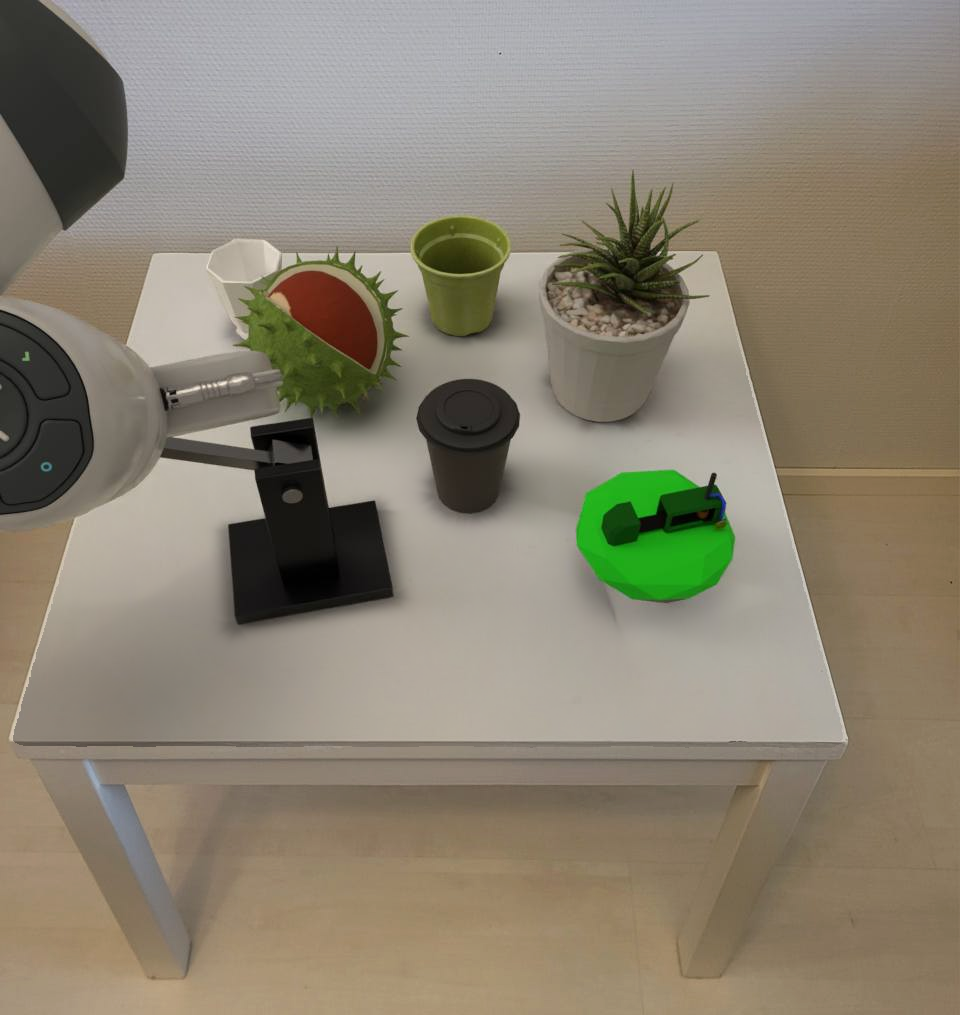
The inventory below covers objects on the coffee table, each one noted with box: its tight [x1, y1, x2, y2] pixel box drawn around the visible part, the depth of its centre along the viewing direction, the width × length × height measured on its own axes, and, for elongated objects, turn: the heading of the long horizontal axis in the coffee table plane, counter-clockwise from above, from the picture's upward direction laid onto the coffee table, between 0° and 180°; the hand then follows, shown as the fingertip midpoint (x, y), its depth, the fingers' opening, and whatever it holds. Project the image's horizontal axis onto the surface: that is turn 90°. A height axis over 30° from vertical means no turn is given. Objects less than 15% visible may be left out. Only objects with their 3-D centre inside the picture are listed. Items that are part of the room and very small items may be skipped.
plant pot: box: [409, 214, 512, 337], centre depth 92 cm, size 9×9×9 cm
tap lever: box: [159, 436, 313, 471], centre depth 65 cm, size 14×3×3 cm, turn 102°
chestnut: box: [232, 245, 410, 421], centre depth 84 cm, size 15×14×15 cm
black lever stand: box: [227, 417, 394, 625], centre depth 71 cm, size 12×9×14 cm
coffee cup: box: [416, 378, 521, 515], centre depth 78 cm, size 8×8×10 cm
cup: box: [205, 237, 283, 341], centre depth 92 cm, size 7×10×8 cm
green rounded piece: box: [575, 469, 736, 604], centre depth 73 cm, size 12×12×11 cm
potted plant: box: [538, 169, 711, 423], centre depth 82 cm, size 13×14×20 cm
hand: (113, 419), depth 60 cm, fingers closed
